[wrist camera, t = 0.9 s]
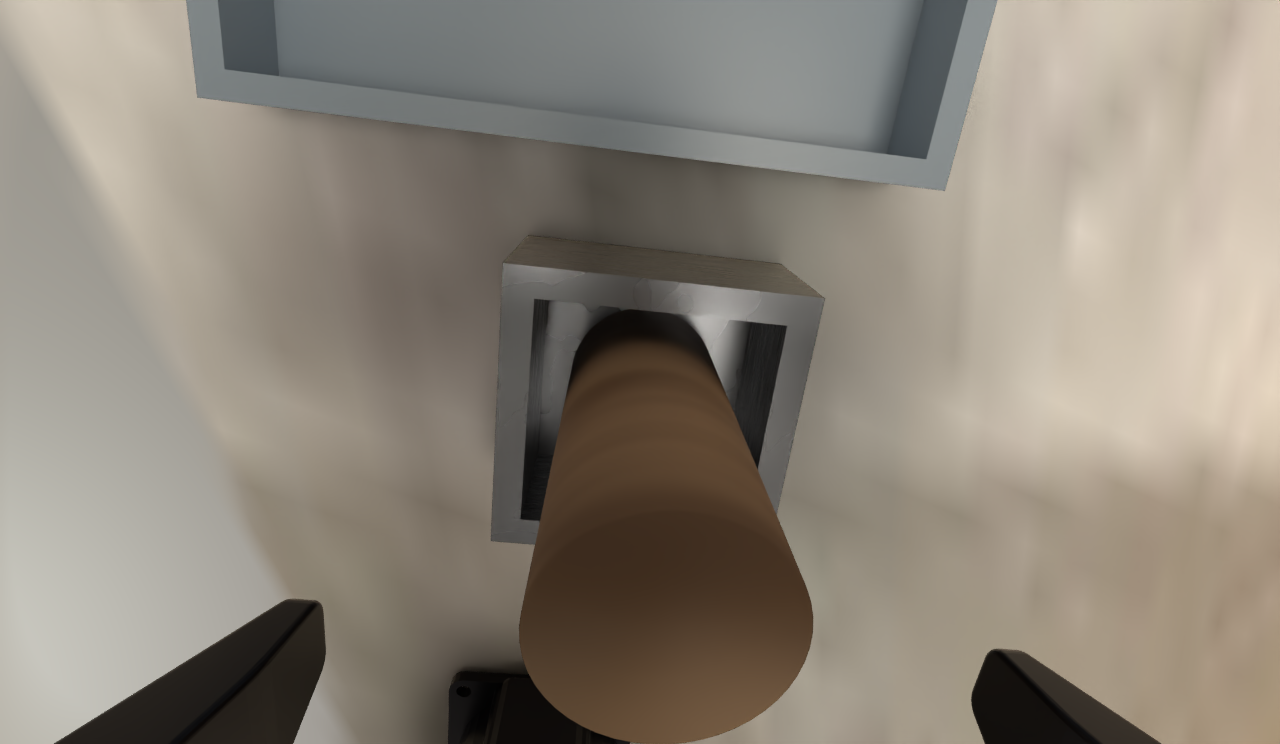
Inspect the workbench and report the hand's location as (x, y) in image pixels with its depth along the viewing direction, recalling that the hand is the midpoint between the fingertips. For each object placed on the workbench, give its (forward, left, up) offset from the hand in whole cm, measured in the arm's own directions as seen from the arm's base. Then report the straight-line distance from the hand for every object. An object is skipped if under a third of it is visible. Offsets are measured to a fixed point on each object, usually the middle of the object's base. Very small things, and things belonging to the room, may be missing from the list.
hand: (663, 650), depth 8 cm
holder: (0, 0, -11) cm, 11 cm away
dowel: (0, 0, -10) cm, 10 cm away
